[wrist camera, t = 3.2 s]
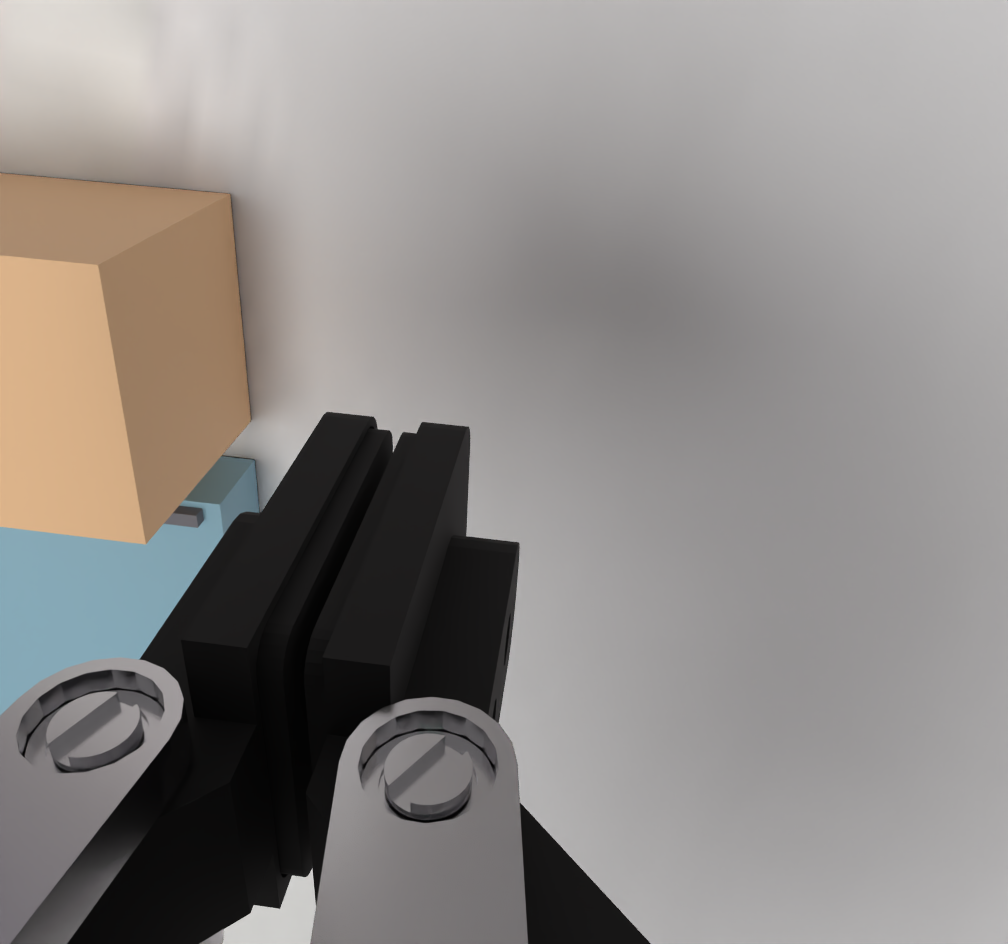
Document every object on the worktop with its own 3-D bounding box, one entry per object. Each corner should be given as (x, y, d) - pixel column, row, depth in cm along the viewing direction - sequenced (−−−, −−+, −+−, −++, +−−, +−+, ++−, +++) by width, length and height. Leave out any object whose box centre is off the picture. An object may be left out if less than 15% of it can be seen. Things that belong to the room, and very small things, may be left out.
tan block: (230, 194, 17) (98, 265, 13) (251, 420, 20) (146, 544, 15) (-57, 167, 18) (-277, 228, 13) (-2, 393, 20) (-173, 505, 16)
